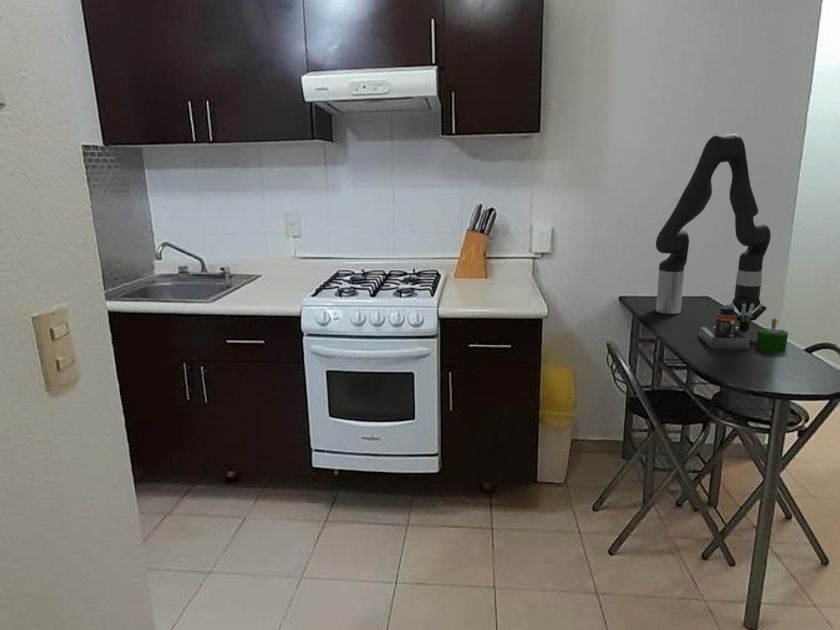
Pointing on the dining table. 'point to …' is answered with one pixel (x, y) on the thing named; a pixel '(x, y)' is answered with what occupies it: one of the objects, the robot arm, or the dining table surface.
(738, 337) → the dock
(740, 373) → the dining table surface
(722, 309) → the supplement bottle
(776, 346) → the candle
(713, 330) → the bar
